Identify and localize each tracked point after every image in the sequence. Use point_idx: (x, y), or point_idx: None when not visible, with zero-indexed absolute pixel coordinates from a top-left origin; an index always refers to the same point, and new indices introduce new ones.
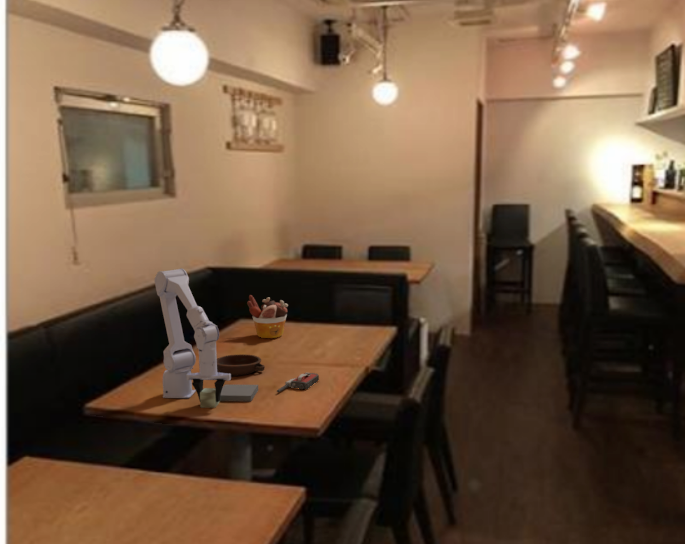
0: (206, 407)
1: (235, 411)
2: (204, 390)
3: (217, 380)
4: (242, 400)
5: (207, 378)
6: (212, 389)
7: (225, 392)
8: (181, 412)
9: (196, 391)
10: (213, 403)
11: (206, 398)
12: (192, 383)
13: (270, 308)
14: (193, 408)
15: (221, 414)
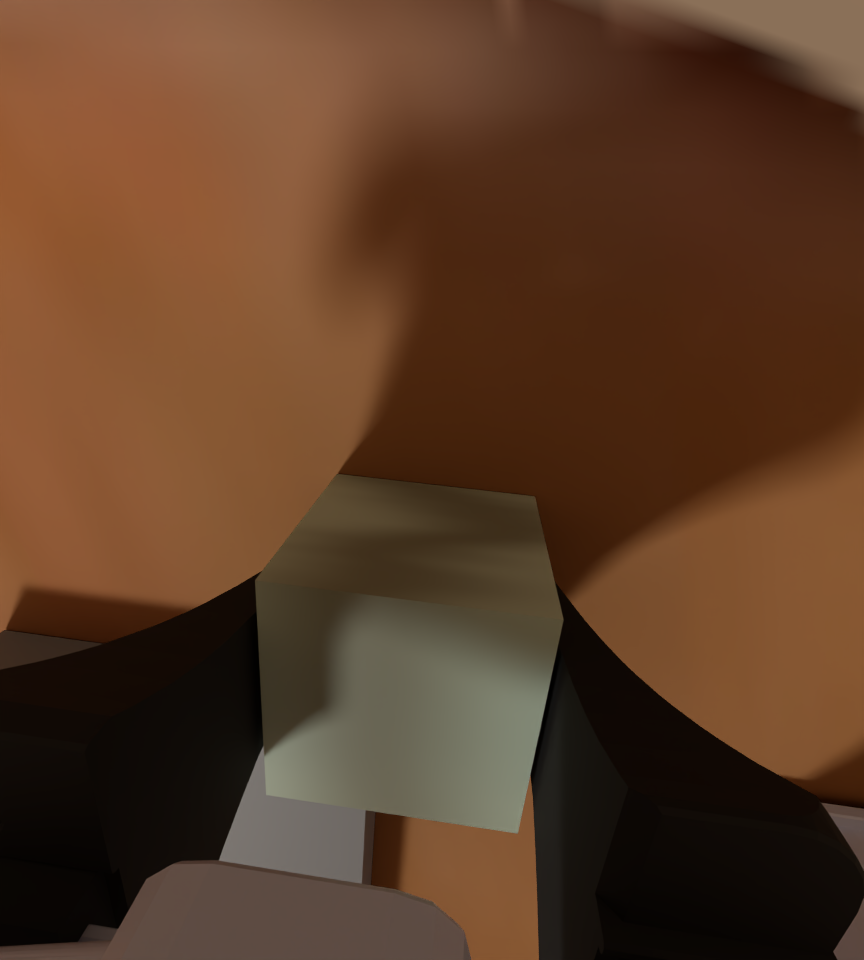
0: (454, 487)
1: (30, 312)
2: (490, 732)
3: (58, 894)
4: (85, 648)
5: (140, 936)
6: (355, 759)
7: (279, 805)
8: (804, 309)
9: (642, 682)
10: (344, 499)
11: (437, 544)
12: (849, 850)
13: None
14: (628, 468)
15: (171, 187)
